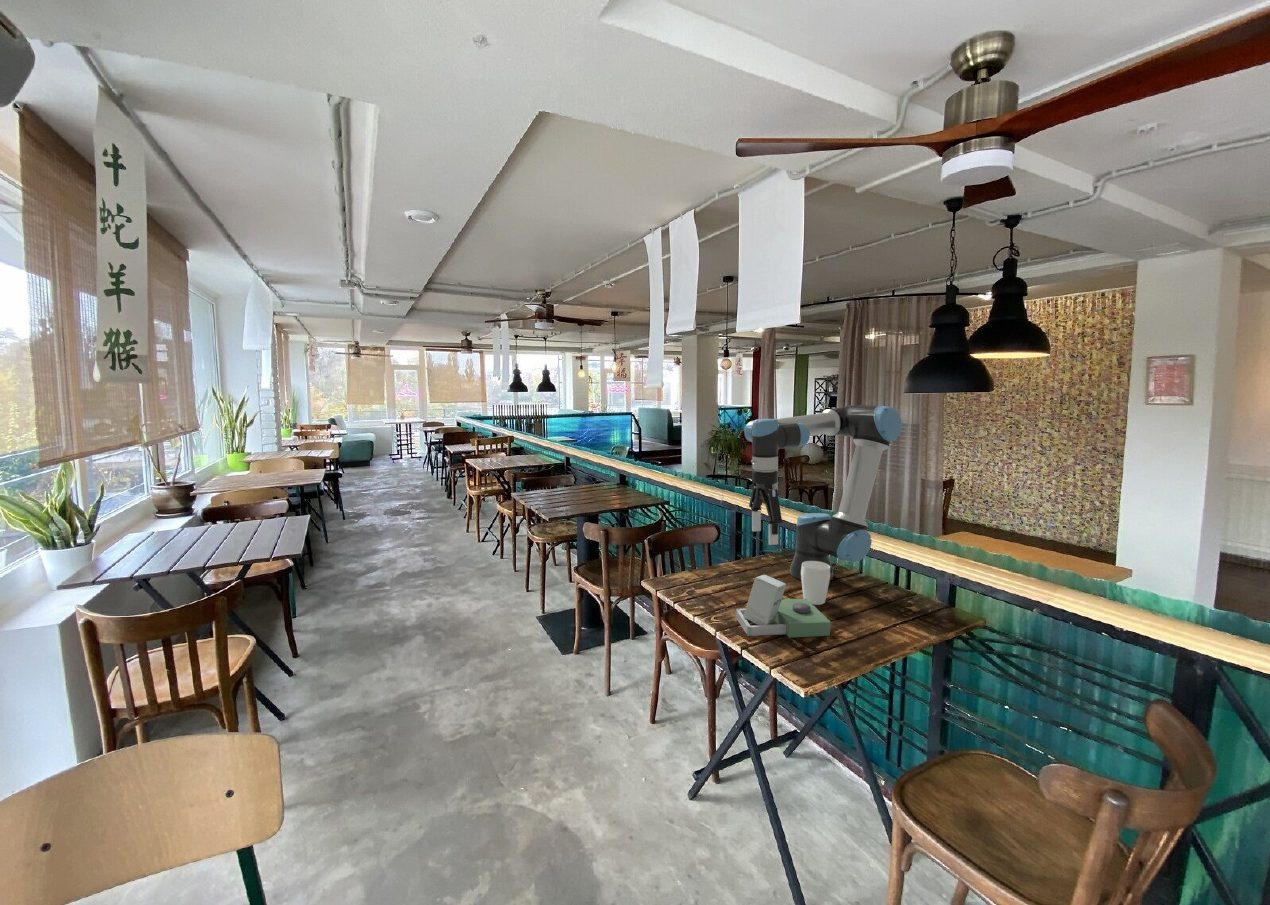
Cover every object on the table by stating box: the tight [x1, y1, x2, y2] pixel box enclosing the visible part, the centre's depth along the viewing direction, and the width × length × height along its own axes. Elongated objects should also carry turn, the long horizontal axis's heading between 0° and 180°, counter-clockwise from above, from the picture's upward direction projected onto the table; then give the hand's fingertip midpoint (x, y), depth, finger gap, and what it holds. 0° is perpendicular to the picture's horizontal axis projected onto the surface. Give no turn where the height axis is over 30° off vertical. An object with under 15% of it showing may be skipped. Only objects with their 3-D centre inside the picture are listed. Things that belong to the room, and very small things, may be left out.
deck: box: [734, 598, 832, 639], centre depth 149 cm, size 23×16×5 cm
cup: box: [801, 561, 831, 606], centre depth 165 cm, size 9×9×12 cm
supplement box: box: [743, 574, 787, 625], centre depth 148 cm, size 7×7×13 cm
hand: (764, 537), depth 157 cm, fingers open, 13 cm apart
